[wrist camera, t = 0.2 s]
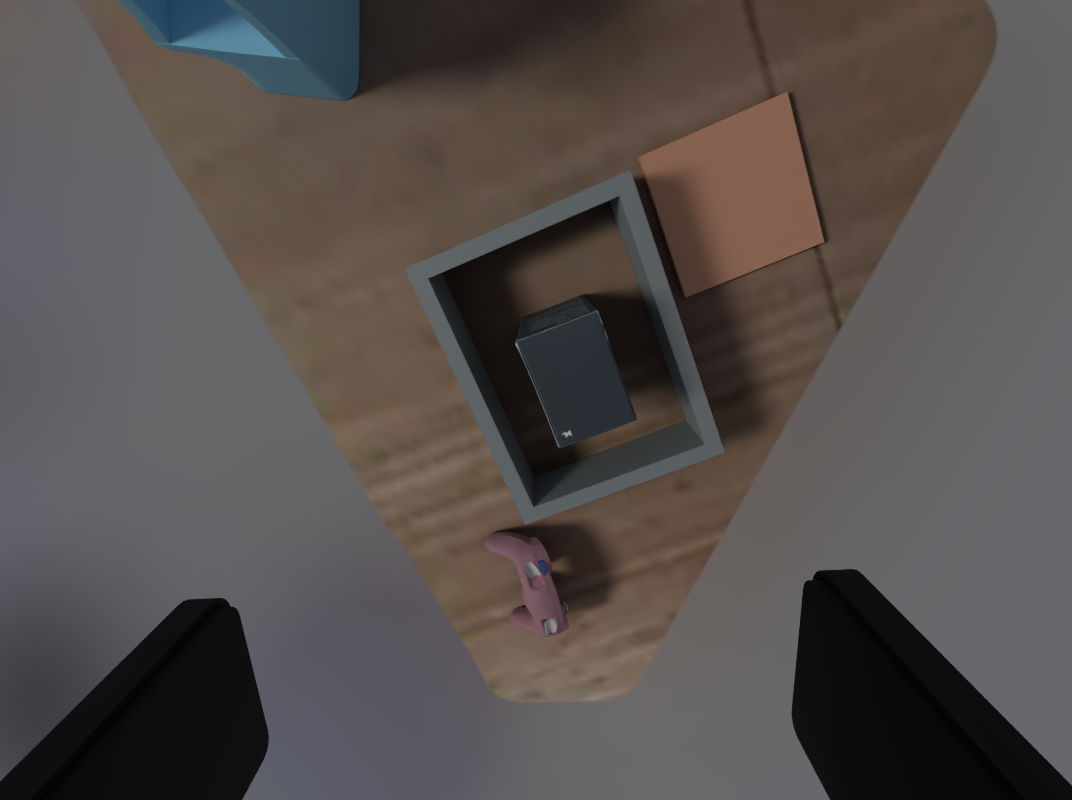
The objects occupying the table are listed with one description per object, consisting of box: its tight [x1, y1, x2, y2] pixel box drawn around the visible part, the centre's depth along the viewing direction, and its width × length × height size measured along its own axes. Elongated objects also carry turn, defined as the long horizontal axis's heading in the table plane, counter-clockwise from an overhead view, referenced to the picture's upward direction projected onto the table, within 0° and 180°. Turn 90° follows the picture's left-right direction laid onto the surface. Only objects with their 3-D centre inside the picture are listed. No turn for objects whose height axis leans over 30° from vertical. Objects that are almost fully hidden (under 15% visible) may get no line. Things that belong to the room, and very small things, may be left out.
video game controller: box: [485, 532, 569, 637], centre depth 47 cm, size 10×5×7 cm, turn 15°
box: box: [515, 295, 637, 448], centre depth 39 cm, size 8×6×11 cm
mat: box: [638, 92, 824, 298], centre depth 40 cm, size 11×11×1 cm
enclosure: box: [405, 170, 725, 525], centre depth 41 cm, size 21×16×6 cm
